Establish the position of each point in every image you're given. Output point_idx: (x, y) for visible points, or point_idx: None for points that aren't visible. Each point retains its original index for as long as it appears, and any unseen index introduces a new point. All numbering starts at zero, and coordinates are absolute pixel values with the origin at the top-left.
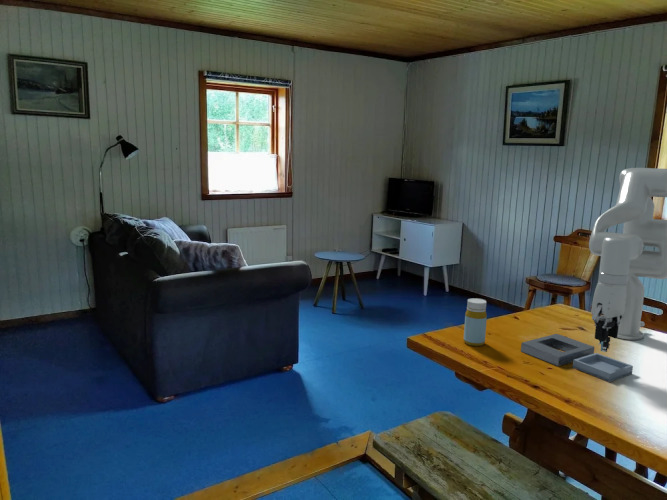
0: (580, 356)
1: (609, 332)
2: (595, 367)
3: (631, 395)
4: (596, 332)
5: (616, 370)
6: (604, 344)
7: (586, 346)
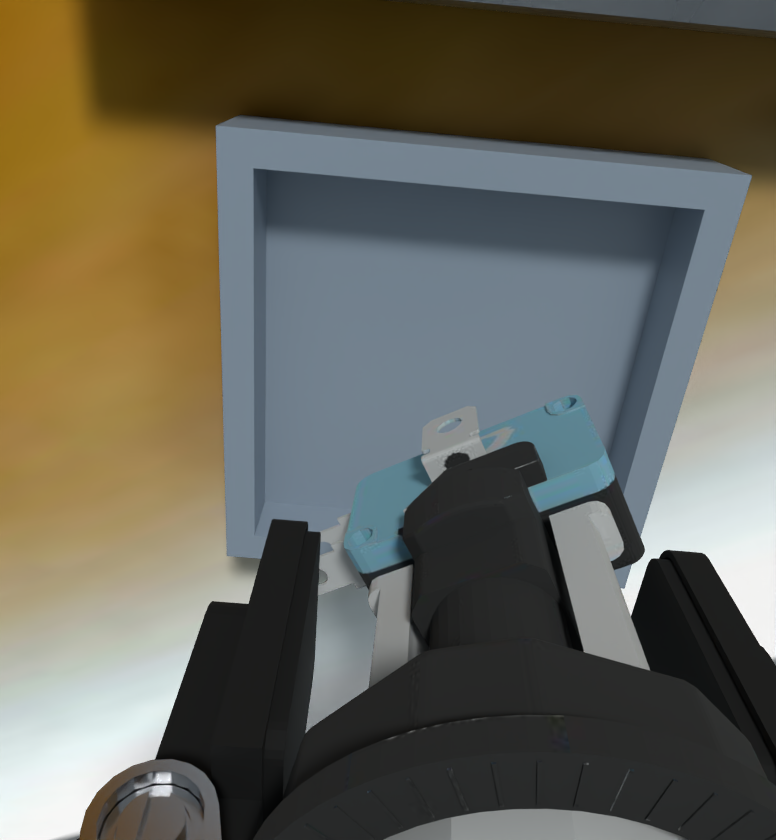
0: (587, 17)
1: (659, 660)
2: (240, 411)
3: (172, 676)
4: (192, 662)
5: None
6: (366, 582)
7: None
